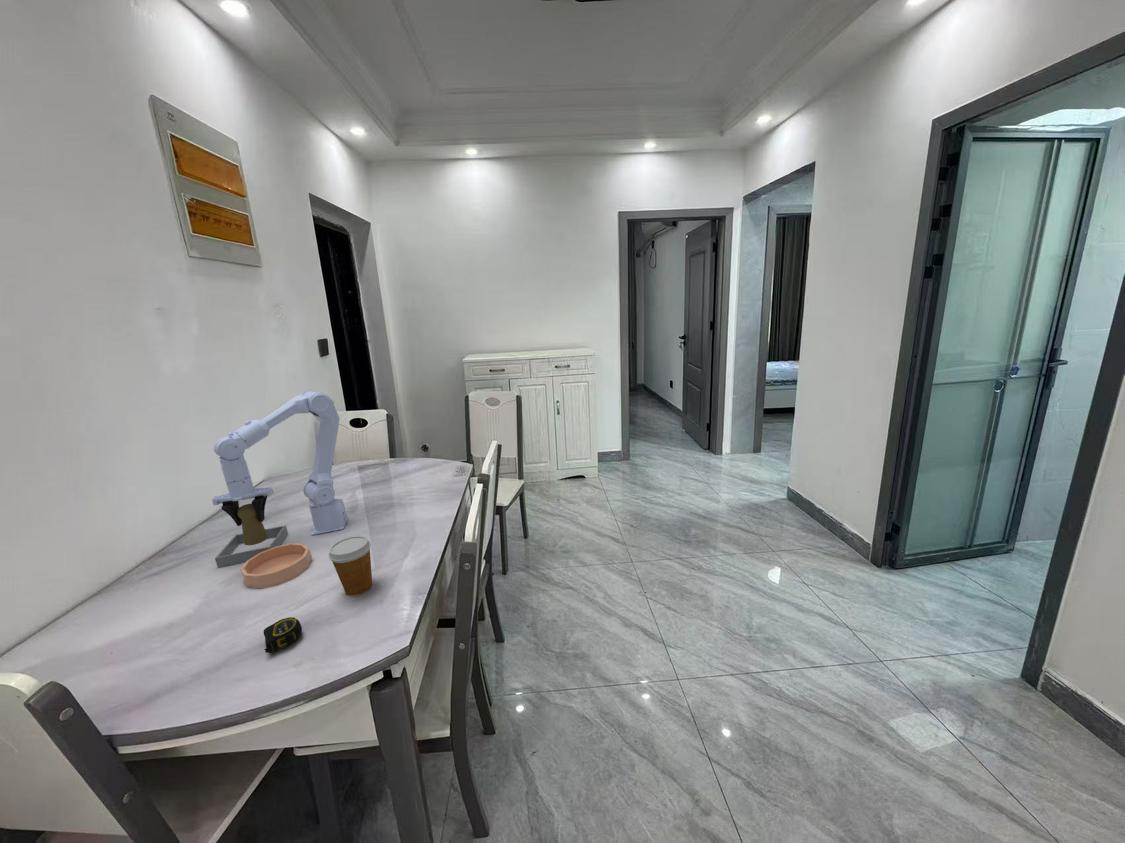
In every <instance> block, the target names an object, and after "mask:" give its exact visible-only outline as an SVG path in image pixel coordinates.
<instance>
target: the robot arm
mask: <svg viewBox="0 0 1125 843" xmlns="http://www.w3.org/2000/svg"><path fill="white" fill-rule="evenodd" d="M309 413H310V414H312V415H313V417H314V418H316V420H317V421H318V422H319V428H318V435H317V441H316V446H315V447H316V448H315V453H314V460H313V467H312V471H311V473H309V476H308V479H307V481H306V483H305V484H304V486H303V488H302V489H303V491H302V492H303V494H304V496H305V497H307V498H308V500H309V501H308V507H309V511H310V515H311V518H312V523H313V530H312V532H311V536H315V535H320V534H326V533H330V532H336V531H340V530H344V529H345V527H346V524H347V522H348V519H349V518H348V516H347V512H346V507H345V504H344V500H343V498H335V495H336V494H335V492H336V491H335V489H334V479H333V476H332V469H333V463H334V456H335V450H336V445H337V444H336V443H337V436H338V432H339V425H340V416H339V414H338V412H337V410H336V406H335V401H334V399H332V398H331V397H330V396H329V395H327V394H326V393H324V392H317V391H314V390H304V391H303V392H302V393H301V394H298V395H296V396H294V397H292V398H291V399H290V400H288V401H287V402H286V403H284V404H283V405H282V406H281V405H280V407H278V408H277V409H276V410H273V411H272V412H271V413H270V414H268V415H266V416H265V417H264V418H262V419H252V420H248V419H247V420H246V421H244V425H242V426H241V427H239V428H238V429H236V430H235V431H229V432H228V433H227V434H228V436H227V435H226V436H222V437H220V438H218V439H217V440H216V441H215V443H214V446H213V447H214V448H213V451H214V453H215V454H216V455H217V456H219V463H220V465H221V466H220V467H221V471H222V473H223V477H224V480H225V484H226V486H227V490H228V493H225V494H221V495H217V496H214V497H213V498H212V499H211V500H212V505H213V506H218V505H221V504H222V506H221V510H222V511H223V512H225V514H227V515H228V516H229V517H230V518H231V519H232V520H233V522H234V523H235V524H236V526H237V527H240V526H242V521H241V518H239V517H238V515H237V510H238V509H239V508H240V506H239V505H240V504H239V502H240V501H243V500H249V499H253V500H252V501H251V504H253V506H254V508H255V510H256V512H257V516H258V520H259V522H262V523H263V522H264V521H265V519H266V518H265V510H266V509H265V508H266V503H267V499H268V497H271V496H273V495H274V489H273V487H272V486H271V487H259V488H258V487H257V488H255V487H254V485H253V481H252V478H251V474H250V470H249V467H248V464H247V461H246V459H245V456H244V453H245V451H246V450H248V449H250V448H251V447H252V446H255V445H256V444H257V443H258V442H260V441H261V440H263V439H264V438H267V437H268V436H269V434H270V429H272V428H274V427H275V426H277V425H279V424H281V423H282V422H284V421H286V420H288V419H289V418H291V417H293V416H295V415H296V414H309Z"/></svg>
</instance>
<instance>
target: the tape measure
mask: <svg viewBox="0 0 1125 843" xmlns="http://www.w3.org/2000/svg"><path fill="white" fill-rule="evenodd" d="M302 632H303V627H302V623H301V622H300V621H299V619H297V618H296V617H285V618H281V619H279V620H278V621H276V622H274V623H272V624H271V625H269V626H267V627H265V628H264V629H263V636H264V642H265V648H264V651H265V654H266V653H268V654H274V653H276V652H277V651H278V650H279V649H280V650H281V649H284V648H287V647H289V646H291V645H293V644H294V643H295V642H296V641H297V640H298V639H299V638H300V637H301V636H302Z"/></svg>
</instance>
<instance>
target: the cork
mask: <svg viewBox="0 0 1125 843" xmlns="http://www.w3.org/2000/svg"><path fill="white" fill-rule="evenodd" d="M237 515H238V517H239V518H241V521H242V524H241V528H242V533H243V539H244V543H243V545H245V546H254V545H258V544H261V543H263V542H265V541H266V540H267V539H269V538H268V534H267V532H266V530H265V529H266V528H265V526H264V523H263V522H259V520H258V516H257V512H256V510H255V508H254V506H253V504H252V503H246V504H243V505H241V506H239V509H238V510H237Z"/></svg>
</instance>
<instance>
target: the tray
mask: <svg viewBox="0 0 1125 843" xmlns="http://www.w3.org/2000/svg"><path fill="white" fill-rule="evenodd" d="M265 530H266V532H267V534H268V538H267V539H272V537H273V541H272V542H271V544H270V546H265V547H261V548H256V549H251V550H247V551H246V550H245V551H243V552H242V551H241V552H237V553H233V552H234V551H235V550H236V549H237V547H239V545H241V544H244V539H243V532H242V533H237V534H234V536H232V538H230V540H229V541H228V543H227V544H226V545H225V546H224V547H223V548H222V549H221V551H220V552H218V554H217V555H216V556H215V558H214V561H215V563H216V566H217V568H223V567H222V566H224V567H227V566H226V565H229V566H232V565H231V564H234V565H237V564H236V563H239V564H243V563H242V562H244V563H245V562H246V561H248V560H249V559H251V558H252V557H254V556H255V555H257V554H259V553H260V552H263V551H266V550H268V549H271V548H273V547H276V546H280V545H283V543H284V541H285V539H286V538H287V536H288V535H289V532H288V528H287V525H280V526H275V527H271V528H269V527H268V528H265ZM240 543H241V544H240ZM235 548H236V549H235ZM234 549H235V550H234ZM231 553H232V554H231Z"/></svg>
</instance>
